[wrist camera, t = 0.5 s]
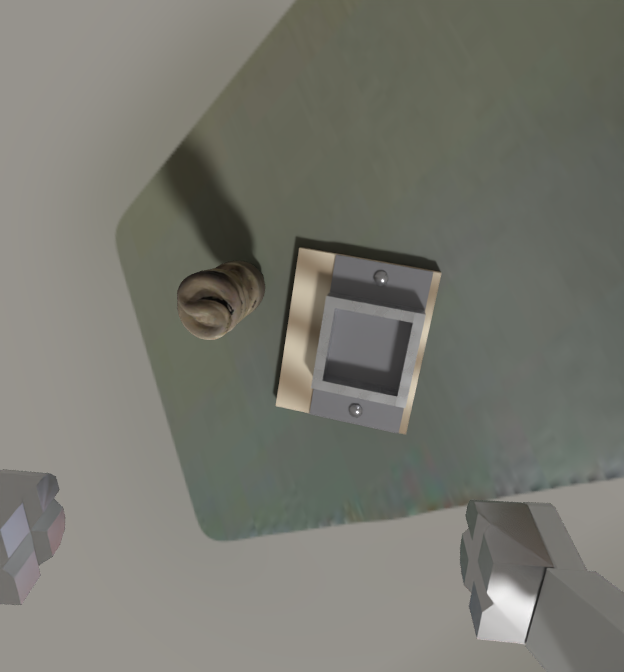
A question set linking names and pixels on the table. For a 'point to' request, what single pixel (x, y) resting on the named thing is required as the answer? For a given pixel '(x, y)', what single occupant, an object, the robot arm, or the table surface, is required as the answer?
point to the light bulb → (219, 298)
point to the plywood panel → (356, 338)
